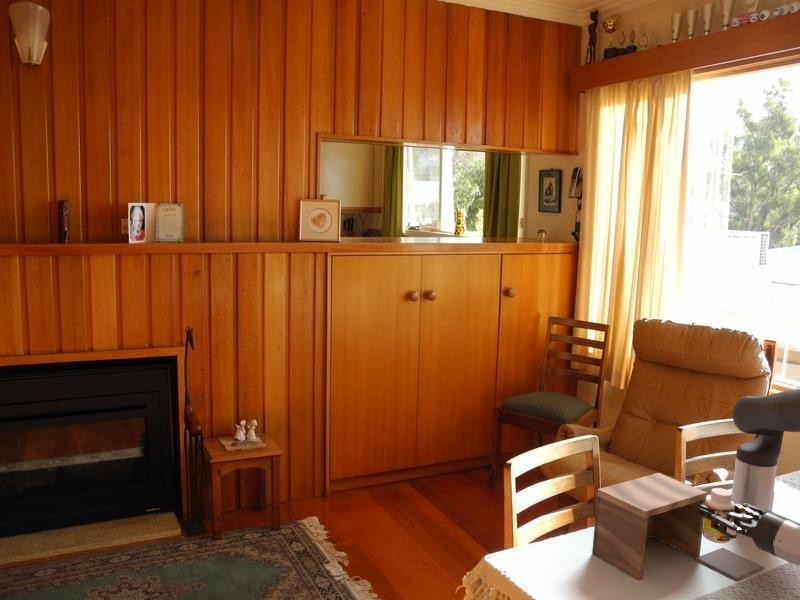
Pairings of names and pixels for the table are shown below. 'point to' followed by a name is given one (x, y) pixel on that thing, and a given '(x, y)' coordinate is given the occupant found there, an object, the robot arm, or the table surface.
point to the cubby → (646, 520)
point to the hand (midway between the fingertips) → (708, 506)
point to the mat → (729, 563)
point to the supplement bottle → (721, 503)
